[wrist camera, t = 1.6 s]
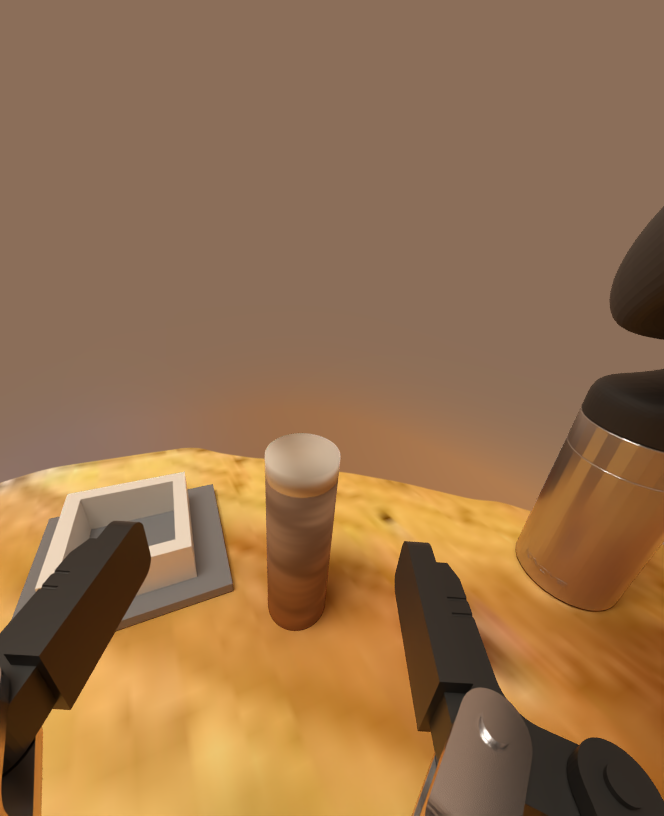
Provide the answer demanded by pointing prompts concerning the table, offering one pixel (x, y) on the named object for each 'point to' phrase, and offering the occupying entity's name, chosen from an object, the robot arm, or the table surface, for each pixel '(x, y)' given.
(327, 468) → the walnut post
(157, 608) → the post well
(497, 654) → the table surface
